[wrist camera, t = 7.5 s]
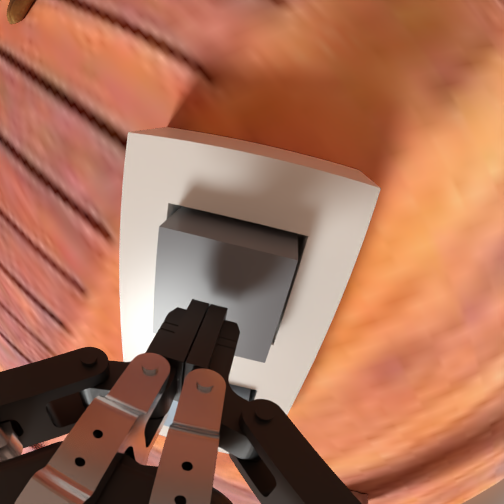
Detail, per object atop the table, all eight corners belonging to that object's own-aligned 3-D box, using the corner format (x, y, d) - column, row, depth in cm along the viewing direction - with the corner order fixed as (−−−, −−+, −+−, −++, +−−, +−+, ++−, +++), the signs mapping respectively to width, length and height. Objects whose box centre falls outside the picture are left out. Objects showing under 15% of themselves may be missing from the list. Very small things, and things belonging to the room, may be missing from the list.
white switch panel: (359, 170, 18) (380, 188, 13) (267, 418, 28) (261, 460, 23) (166, 126, 18) (128, 132, 13) (149, 387, 28) (131, 424, 24)
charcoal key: (297, 227, 16) (298, 260, 13) (270, 317, 19) (264, 363, 15) (187, 201, 17) (158, 226, 13) (176, 293, 19) (152, 332, 16)
